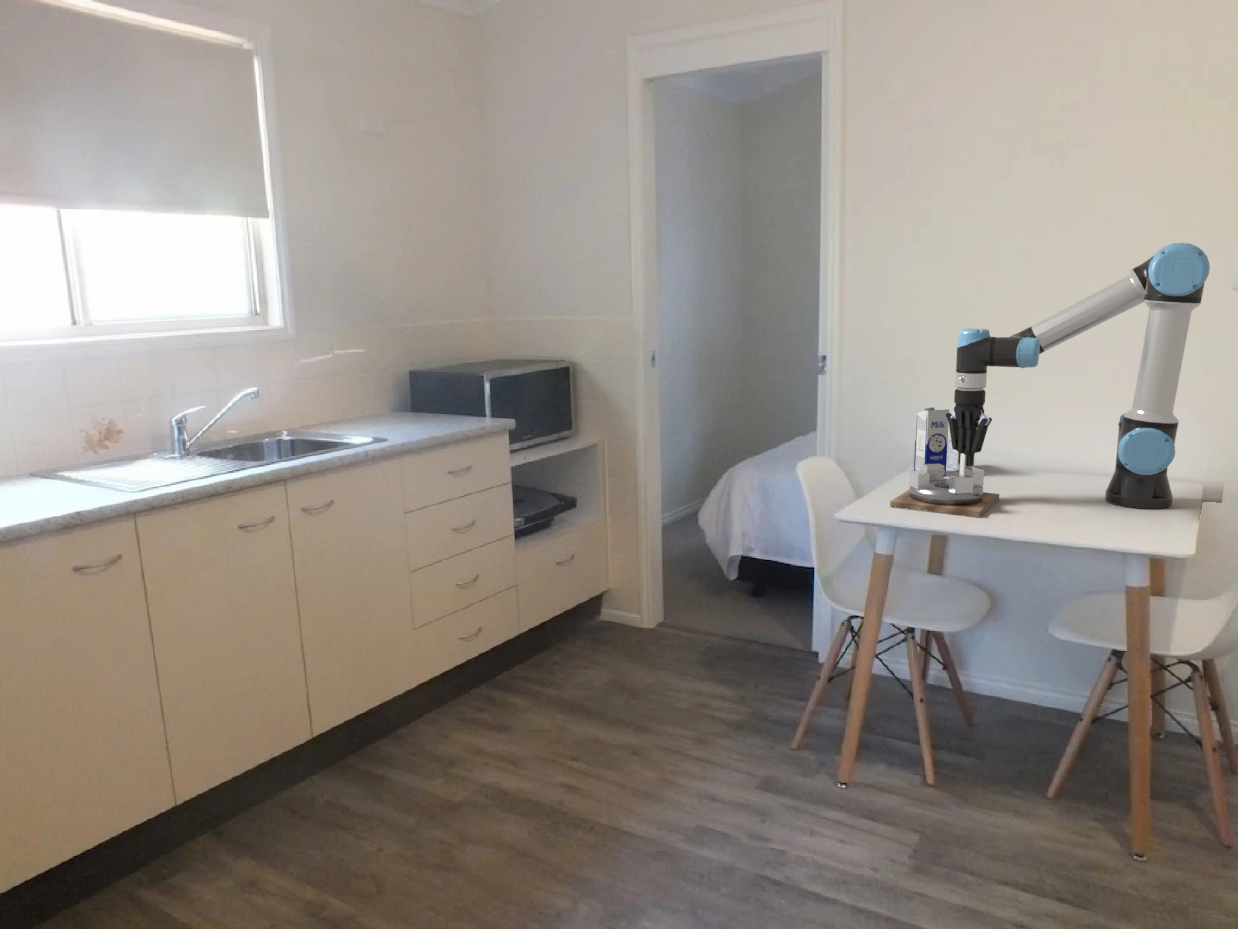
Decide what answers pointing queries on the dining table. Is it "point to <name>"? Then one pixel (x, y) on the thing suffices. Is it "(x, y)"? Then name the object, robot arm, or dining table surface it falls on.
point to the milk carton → (931, 438)
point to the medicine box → (953, 457)
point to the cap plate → (966, 510)
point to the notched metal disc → (946, 486)
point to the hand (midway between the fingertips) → (964, 477)
